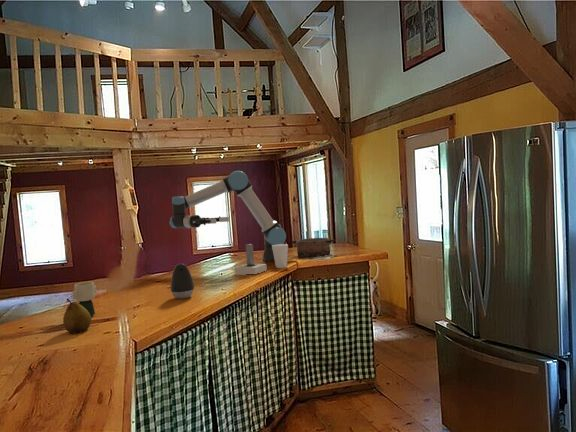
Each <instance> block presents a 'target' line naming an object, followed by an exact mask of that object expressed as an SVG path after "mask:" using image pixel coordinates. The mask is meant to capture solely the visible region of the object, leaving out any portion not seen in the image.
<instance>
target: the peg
mask: <svg viewBox="0 0 576 432" xmlns="http://www.w3.org/2000/svg"><path fill="white" fill-rule="evenodd" d="M245 253H246V254H245V256H246V257H245V258H246V264H247V267H253V266H254V264H255V257H254V245H253V243H247V244H245Z"/></svg>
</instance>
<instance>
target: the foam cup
mask: <svg viewBox="0 0 576 432" xmlns="http://www.w3.org/2000/svg"><path fill="white" fill-rule="evenodd" d="M272 250H273V254H274V260H275V261H274V264H275V268H277V269H284V268H287V266H288V250H289V245H288V244H287V243H283V244H277V245H272Z"/></svg>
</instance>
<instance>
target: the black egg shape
mask: <svg viewBox="0 0 576 432" xmlns="http://www.w3.org/2000/svg"><path fill="white" fill-rule="evenodd" d="M170 279H171V280H170V292H171V294H172V296H173V297H174V298H175V299H177V300H183V299H187V298H189V297H192V295H193V293H194V290H195V284H194V280H193V277H192V274H191V271H190V269H189V268H188V266H187V265H186V264H184V263H178V264H175V266H174V268H173V272H172V274H171V278H170Z"/></svg>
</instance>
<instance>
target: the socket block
mask: <svg viewBox="0 0 576 432" xmlns="http://www.w3.org/2000/svg"><path fill="white" fill-rule="evenodd" d="M267 268H268V267H267V263H254V266H253V267H247V263H245V264H242V265H239V266H236V267H234V274H235V275H234V276H247V275H246V274H257V273H260V272H263V271H265V272H267V271H268V269H267ZM266 270H267V271H266ZM263 273H264V272H263ZM260 274H261V273H260ZM257 275H258V274H257Z"/></svg>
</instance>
